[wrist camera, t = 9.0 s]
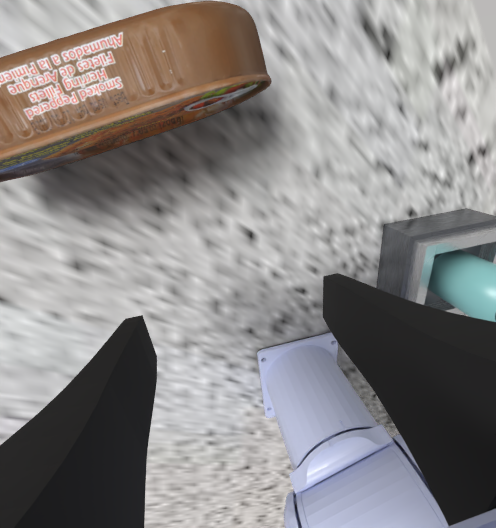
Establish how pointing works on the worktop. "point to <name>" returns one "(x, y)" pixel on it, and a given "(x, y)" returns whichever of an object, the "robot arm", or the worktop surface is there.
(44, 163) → the tin
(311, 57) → the worktop surface
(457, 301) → the teal capped cylinder
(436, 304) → the grey flat square block
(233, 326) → the worktop surface
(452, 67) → the worktop surface
